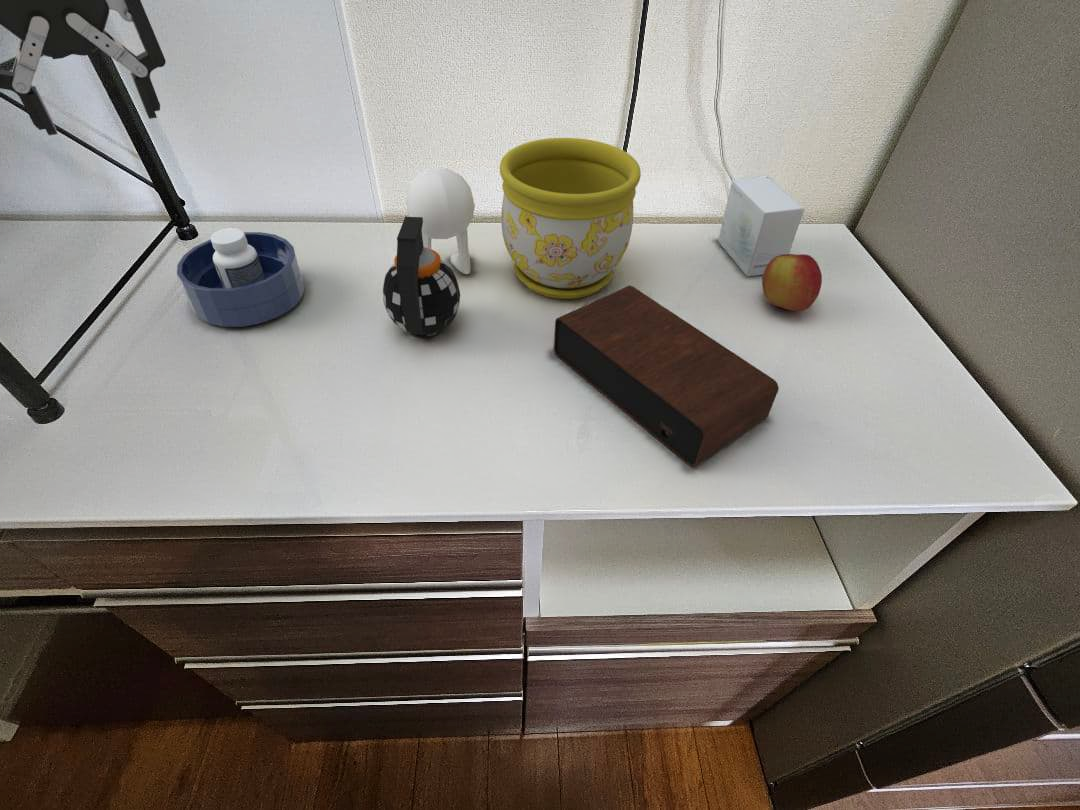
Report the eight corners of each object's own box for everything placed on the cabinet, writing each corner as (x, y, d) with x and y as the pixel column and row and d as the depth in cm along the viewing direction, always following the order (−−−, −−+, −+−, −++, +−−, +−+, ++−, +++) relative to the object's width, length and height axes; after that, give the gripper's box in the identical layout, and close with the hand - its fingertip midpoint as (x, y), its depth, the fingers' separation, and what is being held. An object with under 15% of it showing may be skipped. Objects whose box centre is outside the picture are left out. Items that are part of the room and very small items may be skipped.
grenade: (455, 361, 77) (445, 253, 66) (378, 357, 77) (356, 249, 66) (466, 306, 85) (459, 202, 74) (396, 304, 85) (379, 199, 74)
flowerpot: (588, 234, 100) (597, 129, 88) (649, 293, 88) (669, 181, 77) (482, 257, 94) (478, 148, 82) (533, 324, 82) (536, 208, 71)
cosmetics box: (714, 241, 99) (730, 177, 92) (751, 237, 100) (770, 174, 93) (745, 277, 92) (765, 211, 85) (784, 273, 93) (807, 207, 86)
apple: (815, 300, 88) (836, 249, 83) (804, 330, 83) (825, 278, 78) (762, 284, 91) (778, 234, 85) (747, 313, 86) (764, 262, 80)
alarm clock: (765, 422, 71) (780, 383, 66) (694, 470, 65) (707, 432, 61) (621, 320, 84) (627, 282, 79) (553, 353, 78) (555, 315, 74)
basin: (177, 330, 79) (158, 291, 75) (213, 269, 89) (199, 231, 85) (291, 330, 80) (279, 290, 76) (314, 269, 90) (305, 232, 86)
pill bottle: (277, 290, 85) (259, 231, 79) (250, 310, 82) (228, 250, 76) (247, 280, 87) (227, 221, 81) (219, 299, 83) (195, 239, 77)
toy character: (467, 250, 95) (461, 152, 85) (485, 282, 89) (482, 181, 79) (408, 261, 92) (394, 161, 82) (423, 294, 87) (411, 191, 76)
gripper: (104, -99, 54) (175, 99, 65) (-103, -92, 48) (14, 124, 60) (116, -87, 50) (190, 123, 61) (-110, -78, 44) (18, 152, 55)
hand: (103, 124), depth 60 cm, fingers open, 8 cm apart
